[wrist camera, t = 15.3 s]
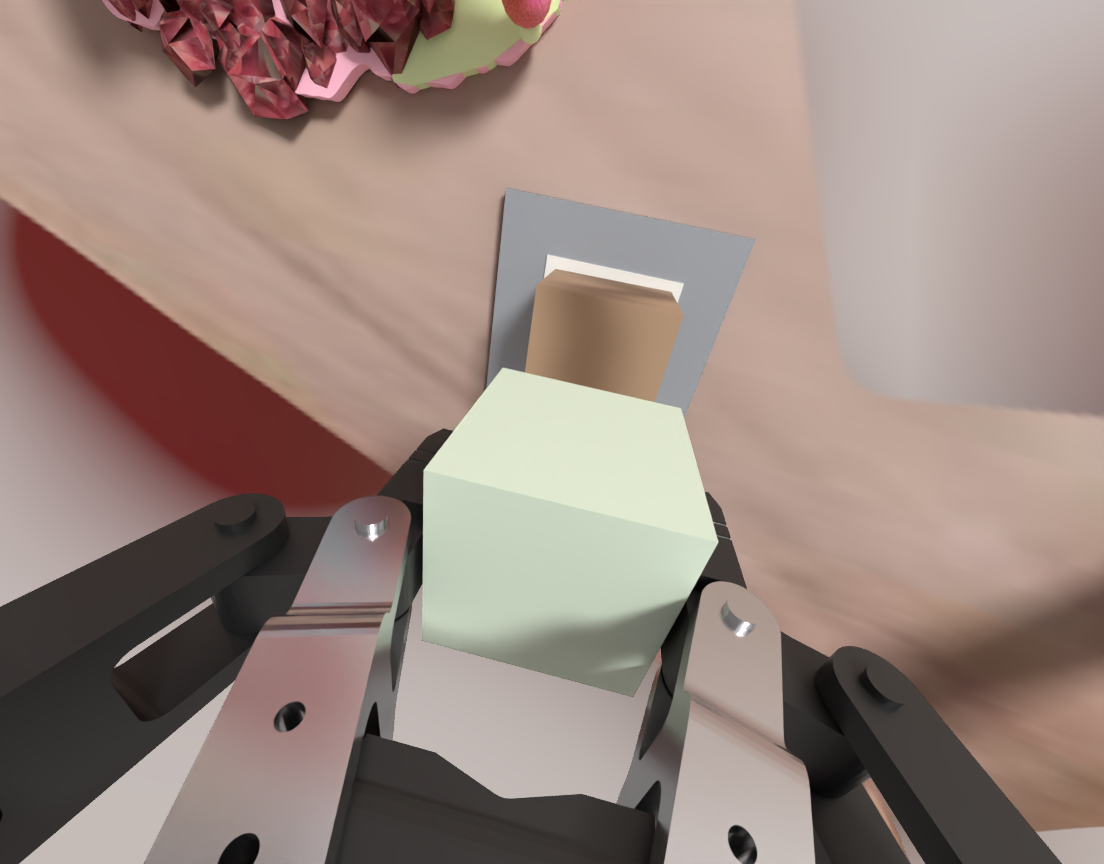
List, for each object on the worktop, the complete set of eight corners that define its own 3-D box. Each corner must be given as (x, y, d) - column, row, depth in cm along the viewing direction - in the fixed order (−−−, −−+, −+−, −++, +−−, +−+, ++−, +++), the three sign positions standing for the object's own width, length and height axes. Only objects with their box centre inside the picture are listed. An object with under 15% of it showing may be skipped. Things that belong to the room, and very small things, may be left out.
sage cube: (681, 408, 10) (718, 541, 6) (630, 538, 12) (633, 697, 8) (502, 367, 10) (423, 469, 6) (486, 503, 12) (422, 640, 8)
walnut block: (671, 291, 20) (683, 314, 16) (639, 397, 23) (642, 441, 19) (555, 268, 20) (536, 284, 16) (539, 375, 23) (519, 413, 19)
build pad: (751, 238, 19) (756, 239, 18) (669, 445, 25) (671, 451, 24) (509, 188, 19) (505, 187, 19) (487, 402, 26) (484, 407, 25)
